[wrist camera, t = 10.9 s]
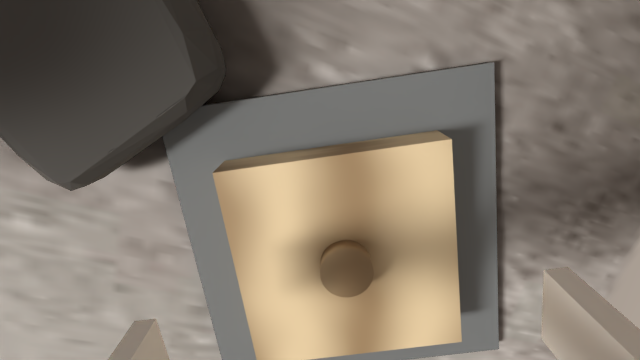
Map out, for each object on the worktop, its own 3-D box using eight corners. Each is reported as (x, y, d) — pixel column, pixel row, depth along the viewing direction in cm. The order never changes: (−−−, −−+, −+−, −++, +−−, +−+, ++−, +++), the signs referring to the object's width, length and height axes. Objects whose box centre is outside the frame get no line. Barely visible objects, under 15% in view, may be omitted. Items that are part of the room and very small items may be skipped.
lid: (264, 336, 22) (254, 380, 19) (224, 160, 19) (205, 179, 16) (448, 314, 22) (468, 356, 19) (437, 130, 19) (459, 143, 16)
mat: (229, 372, 24) (227, 380, 23) (161, 111, 19) (155, 113, 19) (494, 341, 23) (498, 349, 22) (488, 62, 18) (494, 62, 18)
